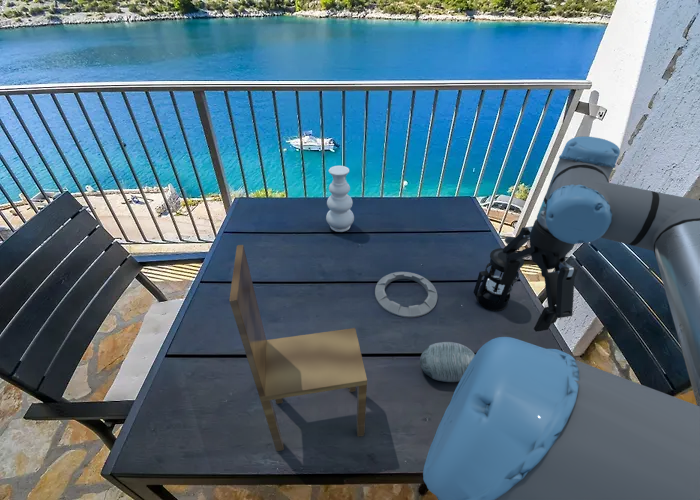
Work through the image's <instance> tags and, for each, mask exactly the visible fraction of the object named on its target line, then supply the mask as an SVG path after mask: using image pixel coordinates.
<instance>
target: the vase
mask: <svg viewBox="0 0 700 500" xmlns="http://www.w3.org/2000/svg"><path fill="white" fill-rule="evenodd" d="M328 172H329V173H328V174H330V175H331V176H332V181H331V182H330V184H329V186H328V191H329V192H330V194H331V195H330V196H328V198H327V200H326V207H327V208H328V209H329V210H328V211H327V213H326V216H325V221H326V223H327V224H328V225H329V228H330V229H331V230H332V231H333V232H336V233H343V232H346V231H348V230H350V228H351V226H352V225H353V223H354V221H355V214H354V213H353V211H352V210H351V209H352V207H353V203H354V202H353V201H354V200H353V199H352V197H351V196H350V195H349V192H350V191H351V186H350V184H349V182H348V181H347V180H346V177H347V175H348V174H349V173H350V168H349V167H347V166H345V165H334V166H331V167H329V169H328Z"/></svg>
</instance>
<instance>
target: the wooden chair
mask: <svg viewBox="0 0 700 500" xmlns="http://www.w3.org/2000/svg"><path fill="white" fill-rule="evenodd" d="M247 258H248V257H247V255H246V250H245V246H244V244H238V245H236V250H235V256H234V264H233V270H232V278H231V284H230V285H231V286H230V292H229V300H228V302H229V305H230V308H231V311H232V314H233V317H234V320H235V323H236V327H237V330H238V334H239V336H240V340H241V343H242V346H243V349H244V353H245V356H246V358H247V363H248V365H249V368H250V372H251V375H252V378H253V381H254V384H255V387H256V391H257V393H258V397H259V400H260V403H261V406H262V410H263V414H264V416H265V419H266V423H267V425H268V426H267V427H268V429H269V432H270V435H271V438H272V442H273V445H274V448H275V451H276V452H279V451H284V440H283V437H282V433H281V429H280V425H279V421H278V418H277V415H276V411H275V408H274V407H275V406H274V404H273V400H274V401H275V404H276V405H277V404H283V401H284V400H283V399H286V398H292V397H299V396H304V395H312V394H317V393H323V392H330V391H335V390H343V389H348V392H349V393H353V392H356V429H355V430H356V436H357V437H363V436H365V429H366V428H365V427H366V411H367V409H366V408H367V394H368V393H367V392H368V391H367V390H368V377H367V373H366V369H365V363H364V360H363V355H362V352H361V348H360V342H359V338H358V334H357V330H356V327H350V328H345V329H337V330H329V331H323V332H314V333H308V334H300V335H293V336H286V337H278V338H270V339H267V337H266V333H265V328H264V325H263V320H262V316H261V312H260V308H259V304H258V299H257V296H256V295H257V294H256V291H255V287H254V284H253V280H252V274H251V270H250V267H249V262H248V259H247Z"/></svg>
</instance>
